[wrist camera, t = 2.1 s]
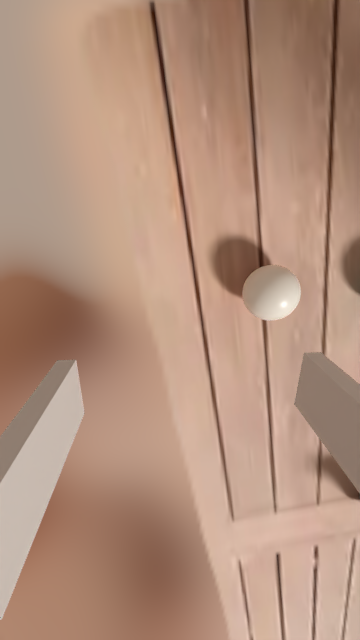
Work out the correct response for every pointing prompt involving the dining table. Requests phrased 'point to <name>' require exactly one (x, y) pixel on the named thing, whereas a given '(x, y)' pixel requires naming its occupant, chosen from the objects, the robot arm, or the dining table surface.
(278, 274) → the cue ball
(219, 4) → the dining table surface
